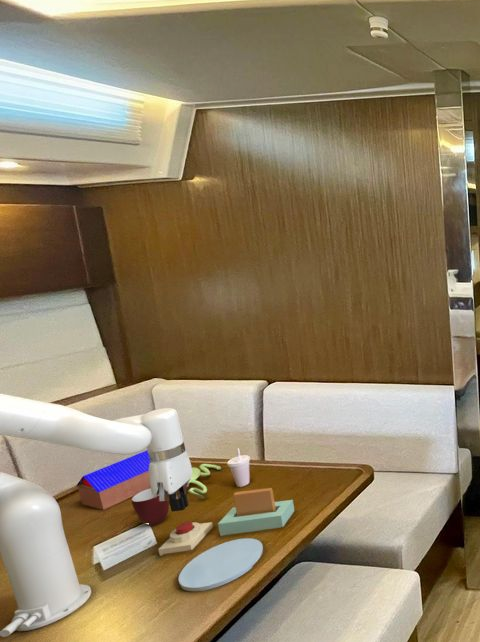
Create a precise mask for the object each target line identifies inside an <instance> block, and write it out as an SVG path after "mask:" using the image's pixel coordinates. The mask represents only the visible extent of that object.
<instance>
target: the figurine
mask: <svg viewBox="0 0 480 642" xmlns="http://www.w3.org/2000/svg"><path fill="white" fill-rule="evenodd" d="M209 468H210V469H213V470H218V471H219V470H221V469H222V466H220V465H216V464H210V463H201V464H200V465H199V467H193V466H192V472H193V475H192V477H191V479H190V481H189V482H188V483H187V488H188V487H189V486H190V484H193V485H196V486H198V487H199V488H200V489H199V488H197V487H190V488H189V489H188V490H187V492H188V493H189V494H191V495H193V496H196V497H199V498H200V499H206V497H205V496H204V495H202V494H207V492H208V488H207V486H206V485H205V484H203V482H201V481H199V480H197V479H198V478H199V477H209V476H210V475H211V471H210V470H209ZM201 470H202V471H203V472H201ZM201 489H202V490H201Z"/></svg>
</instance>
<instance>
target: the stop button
mask: <svg viewBox="0 0 480 642" xmlns="http://www.w3.org/2000/svg"><path fill="white" fill-rule="evenodd" d="M192 523H193V522H192V521H185V522H183V523H180V524H179V525H177V526H176V527H175V529H176V532H177V534H178V535H181V534H185V533H188V532H189V531H191V530H192V529H193V524H192Z"/></svg>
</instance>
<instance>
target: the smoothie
mask: <svg viewBox="0 0 480 642" xmlns="http://www.w3.org/2000/svg"><path fill="white" fill-rule="evenodd" d="M236 451H237V456H234V457H233V458H231V459H229V460H228V461H227V467H229V469H230V472H231V475H232V477H233V480H234V482H235V485H236V487H237V488H242V487H245V486H247V485H248V484H250V479H251V478H250V460H251V457H250V455H248V454H242V455H241V451H240V448H239V447H238V448H237V447H236Z"/></svg>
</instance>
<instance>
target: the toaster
mask: <svg viewBox="0 0 480 642" xmlns="http://www.w3.org/2000/svg"><path fill="white" fill-rule="evenodd" d="M275 507H276V512H269V513H262V514H254V515H247V516H239V517H237V512H236V507H235V506H233V507H231V508H230V510H229V511H228V512H227V513H226V514H225V515H224V516H223V517H222V519H220V521H219V522H218V523H217V528H218V533H219V536H220V537H221V536H229V535H235V534H242V533H250V532H251V533H252V532H256V531H265V530H271V529H279V528H284V527H285V525H286V524H287V522H288V521H289V519H290V518H291V516H292V515H293V514H294V512H295V506H294V500H293V499H288V500H287V499H286V500H280V501H275Z"/></svg>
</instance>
